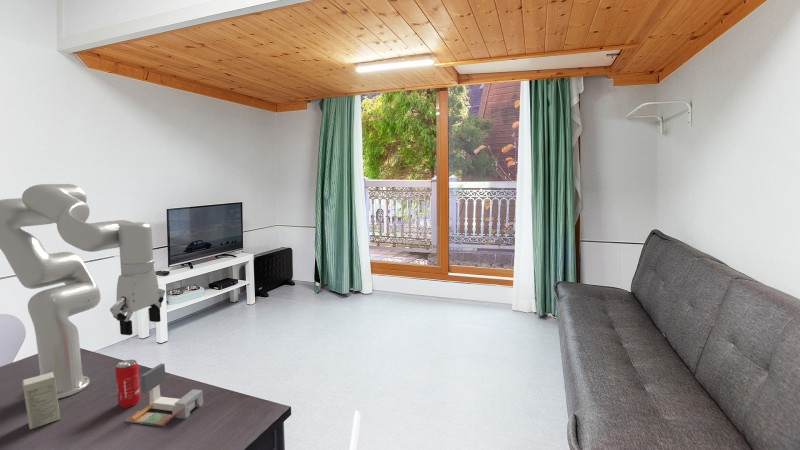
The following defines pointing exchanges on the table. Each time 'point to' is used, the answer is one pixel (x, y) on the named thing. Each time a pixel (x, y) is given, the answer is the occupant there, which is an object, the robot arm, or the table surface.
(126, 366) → the beverage can
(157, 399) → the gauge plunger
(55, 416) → the skincare box
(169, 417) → the bench
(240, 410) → the table surface
